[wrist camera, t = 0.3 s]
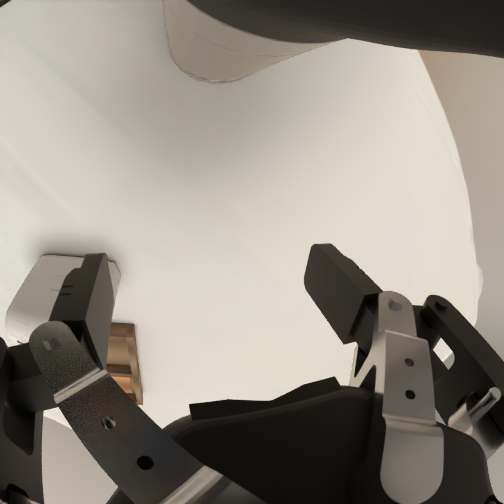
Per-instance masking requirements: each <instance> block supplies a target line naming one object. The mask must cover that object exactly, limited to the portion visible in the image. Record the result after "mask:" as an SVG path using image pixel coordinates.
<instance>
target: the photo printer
mask: <svg viewBox="0 0 504 504" xmlns="http://www.w3.org/2000/svg"><path fill="white" fill-rule="evenodd" d="M83 260H84V258H80V257H69V256H56V255H46V256H42V257H40V258H39V260H38V261H37V263H36V264H35V265H34V267H33V268H32V270H31V271H30V273H29V274H28V276H27V278H26V279H25V281H24V282H23V284H22V286H21V287H20V289H19V290H18V292H17V294H16V295H15V297H14V299H13V301H12V303H11V304H10V306H9V308H8V311H7V314H6V320H5V331H6V333H7V335H8V338H9V341H10V342H11V343H12V344H14V345H15V346H16V345H20V344H24V343H27V342H29V338H30V335H31V333H32V332H33V331H34V330H35V329H36V328H37V327H38V326H39V325H41V324H43V323H46V322H48V320H49V317H50V315H51V312H52V309H53V306H54V304H55V301H56V299H57V296H59V291H60V289H61V288H62V284H63V281H64V279H65V277H66V276H67V275H68V274H69V273H70V272H71V271H72V270H73V269H74V268H81V265H82V263H83ZM108 265H109V271H110V276H111V281H112V286H113V293H114V305H115V300H116V296H117V291H118V286H119V282H120V272H119V270H118V268H117V266H116V265H115V263H113V262H110V261H108ZM113 310H114V306H113ZM112 316H113V313H112ZM111 321H112V320H111Z"/></svg>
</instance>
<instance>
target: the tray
mask: <svg viewBox="0 0 504 504" xmlns="http://www.w3.org/2000/svg"><path fill="white" fill-rule="evenodd" d="M106 371H107V372H108V373H109V374H110V375H111V377H112V378H113V379H114V380H115V381H116V382H117V384H118V385H119V386H120V387H121V388H122V389H123V390H124V391H125V392H126V394H127V395H128V396H129V397H130V398H131V399H132V400H133V401H134V402H135V403H136V404H137V405H143V392H142V385H141V379H140V372H139V364H138V356H137V347H136V338H135V327H134V324H122V323H111V327H110V335H109V344H108V354H107V365H106Z"/></svg>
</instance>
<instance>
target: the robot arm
mask: <svg viewBox="0 0 504 504" xmlns="http://www.w3.org/2000/svg"><path fill="white" fill-rule="evenodd" d="M163 7H164V15H165V23H166V31H167V39H168V45H169V50H170V54H171V56H172V58H173V60H174V62H175V63H176V64H177V65H178V67H179V68H180V69H181V70H182V71H184V72H185V73H186V74H188V75H189V76H191V77H193V78H196V79H198V80H201V81H205V82H209V83H225V82H232V81H235V80H238V79H241V78H243V77H245V76H247V75H250V74H252V73H254V72H257V71H259V70H261V69H263V68H266V67H268V66H270V65H273V64H275V63H278V62H280V61H283V60H285V59H288V58H290V57H293V56H295V55H298V54H301V53H304V52H306V51H309V50H312V49H314V48H317V47H320V46H323V45H326V44H330V43H333V42H336V41H339V40H343V39H346V38H350V39H357V40H362V41H367V42H372V43H377V44H382V45H388V46H394V47H400V48H408V49H417V50H429V51H445V52H458V53H471V54H479V55H487V56H493V57H499V58H504V0H163ZM304 285H305V289H306V291H307V292H308V294H309V295H310V296H311V298H312V299H313V301H314V302H315V304H316V305H317V306H318V308H319V309H320V311H321V312H322V314H323V315H324V317H325V318H326V319H327V321H328V322H329V324H330V325H331V327H332V328H333V330H334V331H335V332H336V334H337V335H338V337H339V338H340V340H341V341H342V343H343V344H348V343H352V342H356V343H357V346H356V348H355V350H354V356H353V363H352V370H351V376H350V382H349V386H340V384H339V383H338V381H337V379H336V378H335V376H334V377H330V378H327V379H323V380H320V381H316V382H312V383H308V384H304V385H302V386H300V387H298V388H296V389H294V390H292V391H290V392H288V393H286V394H284V395H282V396H280V397H278V398H276V399H274V400H271V401H252V400H231V399H227V400H220V401H213V402H204V403H195V404H189V408H190V415H188V416H185V417H182V418H180V419H178V420H176V421H174V422H172V423H171V424H169V425H167V426H166V427H165V428H163V429H161V428H160V427H159V426H158V425H157V424H156V423H155V422H154V421H153V420H152V419H151V418H150V417H149V416H148V415H147V414H146V413H145V412H144V411H143V410H142V409H141V408H140V407H139V406H138V405H137V404H136V403H135V402H134V401H133V400H132V399H131V398H130V397H129V396H128V395H127V394H126V392H125V391H124V390H123V389H122V388H121V387H120V386H119V385H118V384H117V382H116V381H115V380H114V379H113V378H112V377H111V375H110V374H109V373H108V372H107V371H106V365H107V354H108V344H109V335H110V327H111V320H112V313H113V306H114V293H113V286H112V281H111V276H110V271H109V265H108V259H107V255H106V254H105V253H97V254H86V255H85V258H84V260H83V263H82V265H81V268H74V269H73V270H72V271H71V272H70V273H69V274H68V275H67V276H66V277H65V279H64V281H63V284H62V288H61V289H60V291H59V296H57V299H56V301H55V304H54V306H53V309H52V312H51V315H50V317H49V320H48V322H46V323H43V324H41V325H39V326H38V327H37V328H36V329H35V330H34V331H33V332H32V333H31V335H30V338H29V342H27V343H24V344H20V345H16V346H12V347H8V346H7V345H6V343H5V341H4V340H3V339H2V338H1V337H0V504H44V497H43V485H42V460H41V459H42V455H41V454H42V424H43V411H44V410H48V409H52V408H56V407H59V409H60V410H61V412H62V413H63V415H64V417H65V418H66V420H67V421H68V423H69V424H70V426H71V427H72V429H73V430H74V432H75V433H76V435H77V436H78V437H79V439H80V440H81V442H82V443H83V444H84V446H85V447H86V448H87V450H88V451H89V452H90V454H91V455H92V456H93V457H94V459H95V460H96V461H97V462H98V464H99V465H100V466H101V467H102V469H103V470H104V471H105V472H106V473H107V474H108V476H109V477H110V478H111V479H112V480H113V481H114V482H115V484H116V485H117V486H118V488H117V490H116V491H115V492H114V494H113V495H112V496H111V498H110V499H109V500H108V502H107V503H106V504H503V503H501V502H499V501H498V500H497V499H496V497H495V495H494V493H493V490H492V487H491V483H490V479H489V473H488V466H487V460H488V458H490V456H492V454H493V453H495V452H496V450H497V449H499V448H500V447H502V446H503V445H504V361H503V360H502V359H501V358H500V357H499V355H498V354H497V353H496V352H495V351H494V349H493V348H492V347H491V346H490V345H489V344H488V343H487V341H486V340H485V339H484V338H483V337H482V336H481V335H480V334H479V333H478V331H477V330H476V329H475V328H474V327H473V326H472V325H471V324H470V323H469V322H468V321H467V320H466V318H465V317H464V316H463V315H462V314H461V313H460V312H459V311H458V310H457V309H456V308H455V307H454V306H453V305H452V304H451V303H450V302H449V301H448V300H446V299H445V298H443V297H441V296H438V295H429V296H428V297H427V299H426V301H425V303H424V305H423V306H417V305H412V304H411V302H410V301H409V300H408V299H407V298H406V297H405V296H403V295H401V294H399V293H396V292H393V291H384V292H383V291H382V290H381V289H380V288H379V287H378V286H377V285H376V284H375V283H374V281H373V280H372V279H371V278H370V277H369V276H368V275H367V274H366V275H365V272H364V271H363V270H362V269H359V267H358V266H357V265H356V264H355V263H354V262H353V261H352V260H351V259H349V258H347V257H346V256H344V255H343V254H342V253H341V252H340V251H339V250H338V249H337V248H336V247H334V246H333V245H332V244H330V243H329V244H314V245H313V246H312V247H311V250H310V254H309V258H308V262H307V267H306V271H305V275H304ZM440 338H442V339H443V340H444V341H445V343H446V344H447V345H448V346H449V347H450V349H451V350H452V351H453V353H454V356H455V360H454V363H453V365H452V366H451V368H450V369H449V370H448V369H447V368H446V367H445V365H444V364H443V362H442V361H441V360H440V358H439V357H438V356H437V355H436V353H435V352H434V351H433V349H434V347H435V346H436V344H437V343H438V341H439V340H440ZM435 408H436V410H437V411H438V413H439V414H440V416H441V418H442V419H443V421H444V422H445V424H446V425H447V426H446V425H444V424H441V423H439V422H437V421H436V419H435Z"/></svg>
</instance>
